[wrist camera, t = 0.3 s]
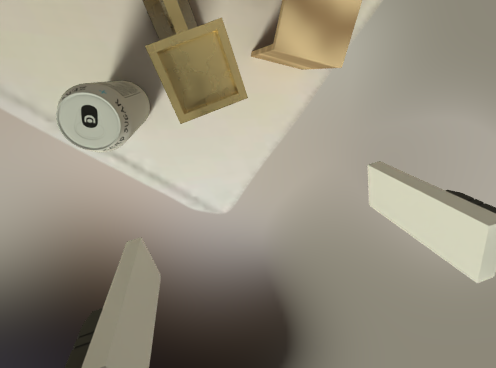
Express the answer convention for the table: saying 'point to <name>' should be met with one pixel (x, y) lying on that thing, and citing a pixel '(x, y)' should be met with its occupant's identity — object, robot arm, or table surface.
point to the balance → (193, 60)
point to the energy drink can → (102, 114)
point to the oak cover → (312, 33)
